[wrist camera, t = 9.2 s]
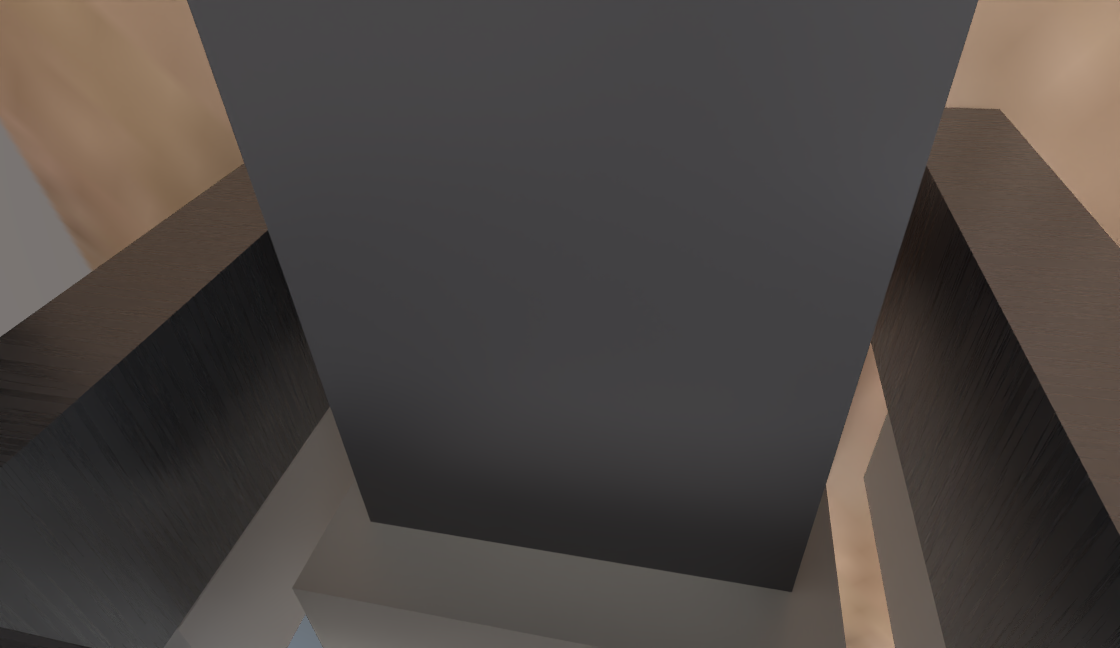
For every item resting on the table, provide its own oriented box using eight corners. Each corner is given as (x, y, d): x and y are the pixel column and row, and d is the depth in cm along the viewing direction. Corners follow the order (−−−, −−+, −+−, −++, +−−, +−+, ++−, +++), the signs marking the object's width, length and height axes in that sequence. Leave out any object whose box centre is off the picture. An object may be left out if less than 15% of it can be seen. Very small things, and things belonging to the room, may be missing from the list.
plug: (444, -192, 9) (-117, -194, 3) (896, -218, 8) (1355, -299, 2) (519, 449, 18) (399, 794, 11) (751, 482, 16) (757, 884, 10)
